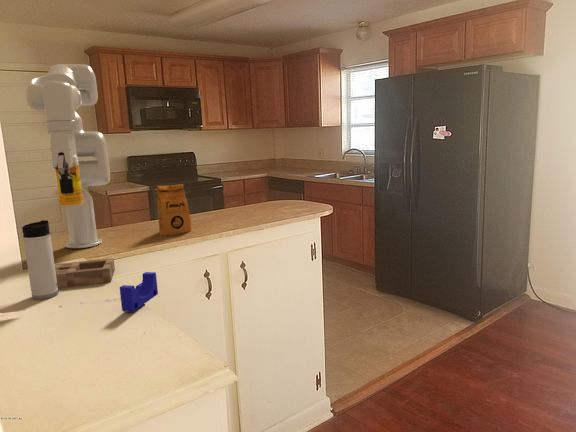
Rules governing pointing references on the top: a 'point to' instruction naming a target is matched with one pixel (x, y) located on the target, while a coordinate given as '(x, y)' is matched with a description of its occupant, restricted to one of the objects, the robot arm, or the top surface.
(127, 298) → the cable clip
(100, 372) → the top surface
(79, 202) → the beer can
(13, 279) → the top surface
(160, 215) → the coffee package
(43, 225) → the travel mug
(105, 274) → the brown wooden slotted block
